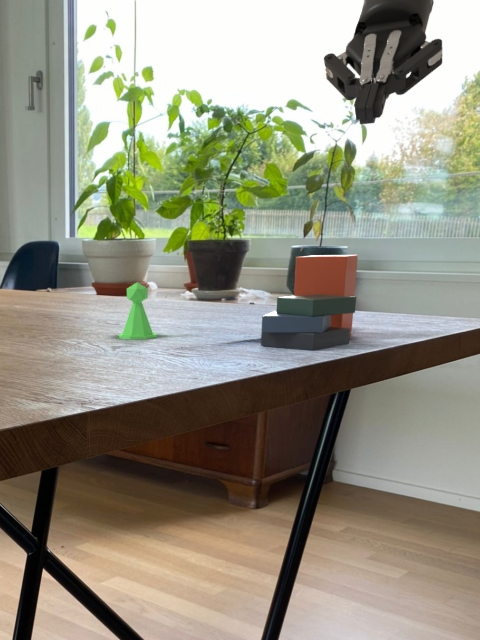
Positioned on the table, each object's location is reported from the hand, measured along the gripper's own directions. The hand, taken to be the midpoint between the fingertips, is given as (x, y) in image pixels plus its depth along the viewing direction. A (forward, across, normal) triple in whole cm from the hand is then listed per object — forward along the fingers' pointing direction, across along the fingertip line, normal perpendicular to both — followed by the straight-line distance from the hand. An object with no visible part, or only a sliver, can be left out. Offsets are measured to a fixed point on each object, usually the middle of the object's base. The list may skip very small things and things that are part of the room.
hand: (366, 116), depth 88 cm
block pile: (+28, -1, +2) cm, 28 cm away
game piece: (+30, -18, +1) cm, 34 cm away
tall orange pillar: (+23, -1, +8) cm, 24 cm away
